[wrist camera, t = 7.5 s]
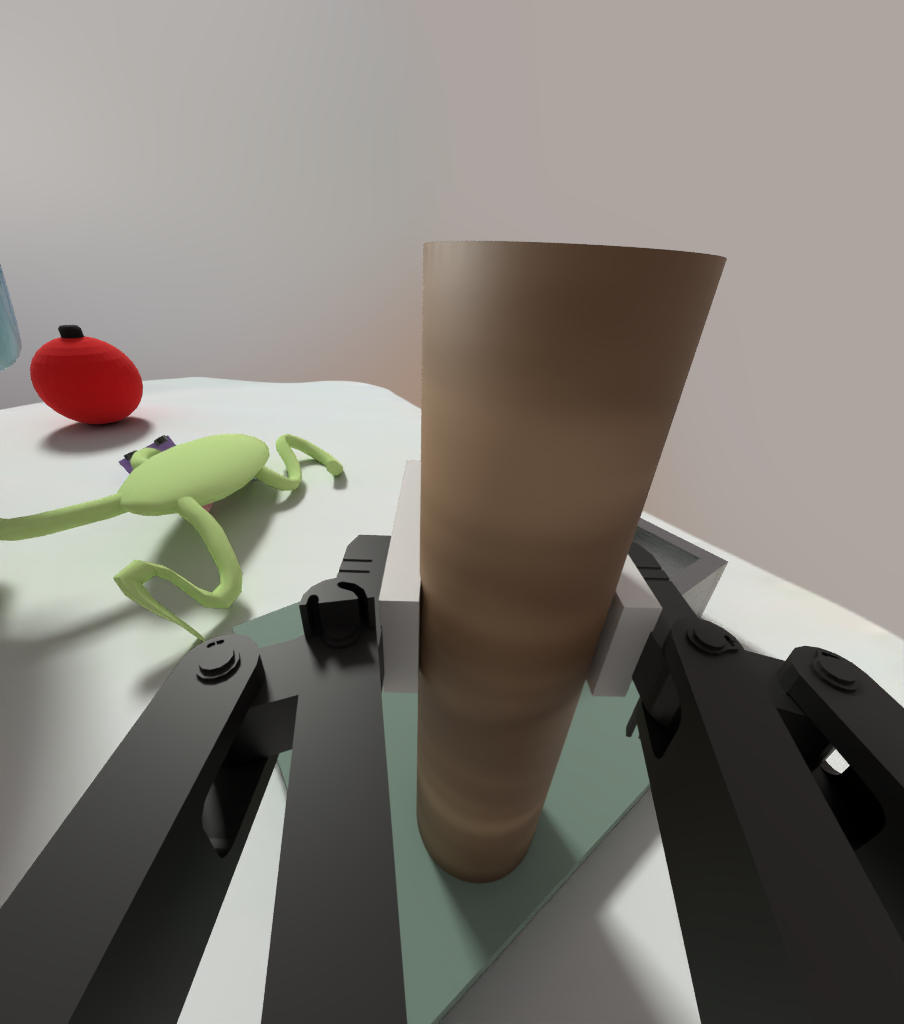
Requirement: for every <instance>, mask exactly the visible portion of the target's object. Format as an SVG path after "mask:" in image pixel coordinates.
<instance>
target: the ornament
mask: <svg viewBox="0 0 904 1024" xmlns="http://www.w3.org/2000/svg"><path fill="white" fill-rule="evenodd" d="M58 330H59V332H60V335H61V337H60V338H57V339H53V340H51V341H50V342H48V343H46V344H44V345H43V346H42V347H41V348H40V349H39V350H38V351H37V352H36V353H35V355H34V357H33V359H32V362H31V366H30V372H31V373H30V374H31V380H32V383H33V386H34V388H35V390H36V392H37V393H38V395H39V397H40V398H41V399H42V400H43V401H44V402H45V403H46V404H47V405H48V406H49V407H51V408H52V409H53V410H54V411H56V412H57V413H59V414H61V415H63V416H65V417H67V418H69V419H72V420H75V421H78V422H82V423H88V424H108V423H112V422H116V421H119V420H122V419H123V418H125V417H127V416H129V415H130V414H131V413H132V412H133V411H134V410H135V409H136V408H137V406H138V405H139V403H140V401H141V398H142V393H143V384H142V380H141V376H140V374H139V372H138V370H137V368H136V367H135V365H134V364H133V362H132V361H131V360H130V359H129V358H128V357H127V356H126V355H125V354H124V353H122V352H121V351H120V350H118V349H117V348H116V347H114V346H112V345H110V344H108V343H106V342H103V341H101V340H98V339H95V338H90V337H85V336H84V335H83V333H82V330H81V328H80V327H78V326H76V325H63V326H59V328H58Z"/></svg>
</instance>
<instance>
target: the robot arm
mask: <svg viewBox="0 0 904 1024" xmlns="http://www.w3.org/2000/svg"><path fill="white" fill-rule="evenodd" d="M20 351H21V339H20V334H19V329H18V325H17V321H16V317H15V314H14V310H13V306H12V303H11V299H10V296H9V292H8V289H7V285H6V282H5V279H4V275H3V272H2V268H1V265H0V371H2V370H4V369H5V368H7V367H9V366H11V365H13V364H14V363H15V362H16V359H17V358H18V357H19V355H20ZM420 493H421V461H413V460H407V461H406V466H405V471H404V476H403V481H402V486H401V491H400V496H399V501H398V506H397V511H396V516H395V521H394V526H393V531H392V536H379V535H359V536H358V537H356V538H355V539H354V540H353V541H352V542H351V543H350V544H349V545H348V546H347V549H346V552H345V555H344V558H343V561H342V563H341V566H340V569H339V572H338V575H337V578H334V579H329V580H325V581H322V582H320V583H318V584H316V585H314V586H312V587H311V588H310V589H309V590H308V591H307V592H306V593H305V594H304V595H303V597H302V599H301V601H300V604H299V609H300V614H301V619H302V625H303V630H304V635H302V636H300V637H298V638H296V639H293V640H290V641H286V642H283V643H278V644H274V645H270V646H265V647H261V648H258V645H257V643H256V642H255V641H254V640H252V639H251V638H250V637H249V636H244V635H240V634H228V635H220V636H217V637H215V638H212V639H209V640H206V641H204V642H203V643H201V644H199V645H198V646H196V647H194V648H193V649H191V650H190V651H189V652H188V653H187V655H186V656H185V657H184V658H183V659H182V660H181V661H180V662H179V663H178V665H177V666H176V668H175V669H174V670H173V672H172V673H171V674H170V676H169V677H168V679H167V680H166V681H165V683H164V684H163V685H162V687H161V688H160V690H159V691H158V692H157V694H156V695H155V696H154V698H153V699H152V701H151V702H150V703H149V705H148V706H147V708H146V709H145V710H144V712H143V713H142V714H141V716H140V717H139V719H138V720H137V721H136V723H135V724H134V725H133V727H132V728H131V730H130V731H129V732H128V734H127V735H126V736H125V738H124V739H123V741H122V742H121V743H120V745H119V746H118V747H117V749H116V750H115V752H114V753H113V754H112V756H111V757H110V759H109V760H108V761H107V763H106V764H105V765H104V767H103V768H102V770H101V771H100V772H99V774H98V775H97V776H96V778H95V779H94V781H93V782H92V783H91V785H90V786H89V787H88V789H87V790H86V792H85V793H84V794H83V796H82V797H81V798H80V800H79V801H78V803H77V804H76V805H75V807H74V808H73V810H72V811H71V812H70V814H69V815H68V816H67V818H66V819H65V821H64V822H63V823H62V825H61V826H60V827H59V829H58V830H57V832H56V833H55V834H54V836H53V837H52V838H51V840H50V841H49V843H48V844H47V845H46V847H45V848H44V850H43V851H42V852H41V854H40V855H39V856H38V858H37V859H36V861H35V862H34V863H33V865H32V866H31V867H30V869H29V870H28V872H27V873H26V874H25V876H24V877H23V878H22V880H21V881H20V883H19V884H18V885H17V887H16V888H15V889H14V891H13V892H12V894H11V895H10V896H9V898H8V899H7V901H6V902H5V903H4V905H3V906H2V907H1V909H0V1024H177V1021H178V1019H179V1016H180V1013H181V1011H182V1008H183V1005H184V1003H185V1000H186V998H187V995H188V992H189V990H190V987H191V985H192V982H193V979H194V977H195V974H196V971H197V969H198V966H199V964H200V961H201V958H202V956H203V953H204V950H205V948H206V945H207V943H208V940H209V937H210V935H211V932H212V929H213V927H214V924H215V922H216V919H217V916H218V914H219V911H220V908H221V906H222V903H223V901H224V898H225V895H226V893H227V890H228V887H229V885H230V882H231V880H232V877H233V874H234V872H235V869H236V866H237V864H238V861H239V859H240V856H241V853H242V851H243V848H244V845H245V843H246V840H247V838H248V835H249V832H250V830H251V827H252V824H253V822H254V819H255V817H256V814H257V811H258V809H259V806H260V803H261V801H262V798H263V796H264V793H265V790H266V788H267V785H268V782H269V780H270V777H271V775H272V772H273V769H274V767H275V764H276V761H277V759H278V756H279V754H280V753H282V752H285V751H288V750H291V749H292V756H291V765H290V774H289V783H288V791H287V800H286V809H285V818H284V827H283V835H282V844H281V853H280V862H279V871H278V879H277V888H276V897H275V906H274V915H273V923H272V932H271V941H270V950H269V959H268V967H267V976H266V985H265V994H264V1003H263V1011H262V1020H261V1024H407V1013H406V1000H405V987H404V975H403V962H402V949H401V937H400V924H399V911H398V898H397V886H396V873H395V860H394V847H393V835H392V822H391V809H390V797H389V784H388V771H387V758H386V746H385V733H384V720H383V708H382V695H381V694H382V687H383V691H384V692H397V693H418V681H419V656H420V590H421V577H420V571H419V570H420ZM661 568H662V567H661V566H660V564H659V563H658V562H657V560H656V559H655V558H654V556H653V555H652V554H651V553H650V552H648V551H647V550H646V549H644V548H643V547H642V546H640V545H639V544H637V543H631V546H630V549H629V552H628V555H627V558H626V561H625V564H624V567H623V570H622V573H621V576H620V579H619V582H618V585H617V588H616V591H615V594H614V597H613V600H612V603H611V606H610V609H609V612H608V615H607V618H606V621H605V624H604V627H603V630H602V633H601V636H600V639H599V642H598V645H597V648H596V651H595V653H594V656H593V659H592V662H591V665H590V668H589V671H588V674H587V677H586V680H587V682H588V685H589V688H590V691H591V694H592V696H610V697H625V696H626V693H627V691H628V689H629V686H630V684H631V682H632V680H633V682H634V684H635V687H636V689H637V691H638V693H639V695H640V697H639V699H638V702H637V704H636V706H635V708H634V710H633V713H632V715H631V717H630V719H629V722H628V724H627V726H626V736H627V737H631V736H632V734H633V732H634V730H635V728H636V726H638V731H639V736H638V739H640V740H641V745H642V750H643V754H644V759H645V764H646V768H647V773H648V778H649V782H650V787H651V792H652V796H653V801H654V806H655V810H656V815H657V820H658V824H659V829H660V834H661V838H662V843H663V847H664V852H665V857H666V861H667V866H668V871H669V875H670V880H671V885H672V889H673V894H674V899H675V903H676V908H677V913H678V917H679V922H680V927H681V931H682V936H683V941H684V945H685V950H686V955H687V959H688V964H689V969H690V973H691V978H692V983H693V987H694V992H695V997H696V1001H697V1006H698V1011H699V1015H700V1020H701V1024H904V708H903V707H902V706H901V705H900V704H899V703H898V702H897V701H896V700H894V699H893V698H892V697H891V696H890V695H889V694H888V693H887V692H886V691H885V690H884V689H883V688H881V687H880V686H879V685H878V684H877V683H876V682H875V681H874V680H873V679H872V678H871V677H869V676H868V675H867V674H866V673H865V672H864V671H862V670H861V669H860V668H858V667H857V666H856V665H854V664H853V663H852V662H850V661H848V660H846V659H844V658H843V657H841V656H839V655H837V654H835V653H832V652H830V651H827V650H824V649H821V648H817V647H810V646H802V647H797V648H795V649H794V650H793V651H792V653H791V654H790V655H789V657H788V658H787V660H786V661H783V660H779V659H776V658H772V657H768V656H764V655H760V654H756V653H753V652H749V651H746V650H744V648H743V647H742V646H741V644H740V643H739V642H738V641H737V639H736V638H735V637H734V636H732V635H731V634H730V633H729V632H727V631H726V630H725V629H723V628H721V627H719V626H717V625H715V624H713V623H712V622H709V621H706V620H702V619H699V618H698V617H697V615H696V614H695V613H694V611H693V610H692V609H691V607H690V606H689V604H688V603H687V602H686V600H685V599H684V598H683V596H682V595H681V593H680V592H679V591H678V589H677V588H676V587H675V585H674V584H673V582H672V581H669V577H668V576H667V574H666V573H665V571H664V570H662V569H661ZM835 749H836V750H837V751H838V752H839V753H840V754H841V756H842V757H843V758H844V759H845V760H846V761H847V763H848V764H849V765H850V766H849V767H848V768H847V769H846V770H845V771H844V772H843V773H839V772H838V771H836V770H834V769H833V768H832V767H831V766H830V765H829V764H828V763H827V762H826V759H827V758H828V757H829V756H830V754H831V753H832V752H833V751H834V750H835Z"/></svg>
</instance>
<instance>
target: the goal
mask: <svg viewBox="0 0 904 1024" xmlns="http://www.w3.org/2000/svg"><path fill="white" fill-rule="evenodd" d="M632 543H637V544H639V545H640V546H642V547H643V548H644V549H646V550H647V551H648V552H650V553H651V554H652V555H653V556H654V558H655V559H656V560H657V562H658V563H659V564H660V566H661V567H662V568H661V569H662V570H664V571H665V573H666V574H667V576H668V577H669V581H672V582H673V584H674V585H675V587H676V588H677V589H678V591H679V592H680V593H681V595H682V596H683V598H684V599H685V600H686V602H687V603H688V604H689V606H690V607H691V609H692V610H693V611H694V613H695V614H696V615H697V617H698V618H700V617H701V616H702V614H703V612H704V610H705V608H706V606H707V604H708V602H709V600H710V598H711V596H712V594H713V592H714V590H715V588H716V586H717V584H718V582H719V580H720V577H721V575H722V573H723V571H724V569H725V567H726V565H727V563H728V561H726V560H724V559H722V558H720V557H718V556H716V555H714V554H712V553H710V552H708V551H706V550H704V549H702V548H700V547H698V546H696V545H694V544H692V543H690V542H688V541H686V540H684V539H682V538H680V537H678V536H676V535H673V534H671V533H669V532H667V531H665V530H663V529H661V528H659V527H657V526H655V525H653V524H651V523H649V522H647V521H645V520H643V519H641V518H640V519H639V522H638V525H637V528H636V531H635V534H634V537H633V540H632Z"/></svg>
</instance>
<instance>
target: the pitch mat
mask: <svg viewBox="0 0 904 1024" xmlns="http://www.w3.org/2000/svg"><path fill="white" fill-rule="evenodd" d="M299 604H300V602H298V603H295V604H292V605H290V606H287V607H284V608H282V609H279V610H277V611H274V612H271V613H269V614H266V615H263V616H261V617H258V618H255V619H253V620H250V621H247V622H245V623H242V624H239V625H237V626H234V627H232V629H233V632H234V634H240V635H244V636H249V637H250V638H251V639H252V640H254V641H255V642H256V643H257V645H258V648H261V647H265V646H270V645H274V644H278V643H283V642H286V641H290V640H293V639H296V638H298V637H300V636H302V635H304V630H303V625H302V619H301V614H300V609H299ZM381 695H382V708H383V720H384V733H385V746H386V758H387V771H388V784H389V797H390V809H391V822H392V835H393V847H394V860H395V873H396V886H397V898H398V911H399V924H400V937H401V949H402V962H403V975H404V987H405V1000H406V1013H407V1024H438V1023H439V1022H440V1021H441V1019H442V1018H443V1017H444V1016H445V1015H446V1014H447V1013H448V1012H449V1011H450V1009H451V1008H452V1007H453V1006H454V1005H455V1004H456V1003H457V1002H458V1001H459V999H460V998H461V997H462V996H463V995H464V994H465V993H466V992H467V991H468V989H469V988H470V987H471V986H472V985H473V984H474V983H475V982H476V981H477V979H478V978H479V977H480V976H481V975H482V974H483V973H484V972H485V971H486V969H487V968H488V967H489V966H490V965H491V964H492V963H493V962H494V961H495V959H496V958H497V957H498V956H499V955H500V954H501V953H502V952H503V951H504V949H505V948H506V947H507V946H508V945H509V944H510V943H511V942H512V941H513V939H514V938H515V937H516V936H517V935H518V934H519V933H520V932H521V931H522V929H523V928H524V927H525V926H526V925H527V924H528V923H529V922H530V921H531V919H532V918H533V917H534V916H535V915H536V914H537V913H538V912H539V911H540V909H541V908H542V907H543V906H544V905H545V904H546V903H547V902H548V901H549V899H550V898H551V897H552V896H553V895H554V894H555V893H556V892H557V891H558V889H559V888H560V887H561V886H562V885H563V884H564V883H565V882H566V880H567V879H568V878H569V877H570V876H571V875H572V874H573V873H574V872H575V870H576V869H577V868H578V867H579V866H580V865H581V864H582V863H583V862H584V860H585V859H586V858H587V857H588V856H589V855H590V854H591V853H592V852H593V850H594V849H595V848H596V847H597V846H598V845H599V844H600V843H601V842H602V840H603V839H604V838H605V837H606V836H607V835H608V834H609V833H610V832H611V830H612V829H613V828H614V827H615V826H616V825H617V824H618V823H619V822H620V820H621V819H622V818H623V817H624V816H625V815H626V814H627V813H628V812H629V810H630V809H631V808H632V807H633V806H634V805H635V804H636V803H637V802H638V800H639V799H640V798H641V797H642V796H643V795H644V794H645V793H646V792H647V790H648V789H649V788H650V782H649V778H648V773H647V768H646V764H645V759H644V754H643V750H642V745H641V740H640V739H638V736H639V731H638V726H636V728H635V730H634V732H633V734H632V736H631V737H627V736H626V726H627V724H628V722H629V719H630V717H631V715H632V713H633V710H634V708H635V706H636V704H637V702H638V699H639V697H640V695H639V693H638V691H637V689H636V687H635V684H634V682H633V680H632V682H631V684H630V686H629V689H628V691H627V693H626V696H625V697H610V696H592V694H591V691H590V688H589V685H588V682H587V680H585V683H584V686H583V689H582V692H581V695H580V698H579V701H578V704H577V707H576V710H575V713H574V716H573V719H572V722H571V725H570V728H569V731H568V734H567V737H566V740H565V743H564V746H563V749H562V752H561V755H560V758H559V761H558V764H557V767H556V770H555V773H554V776H553V779H552V782H551V785H550V788H549V791H548V794H547V797H546V800H545V803H544V806H543V809H542V812H541V815H540V818H539V821H538V824H537V827H536V830H535V833H534V836H533V839H532V842H531V845H530V847H529V849H528V852H527V854H526V856H525V857H524V859H523V860H522V862H521V863H520V864H519V865H518V867H517V868H516V869H515V870H513V871H512V872H511V873H510V874H508V875H507V876H505V877H503V878H502V879H499V880H497V881H494V882H489V883H479V884H476V883H469V882H465V881H462V880H459V879H457V878H455V877H453V876H451V875H450V874H448V873H447V872H445V871H444V870H443V869H442V868H441V867H439V866H438V865H437V864H436V862H435V861H434V860H433V859H432V858H431V856H430V855H429V853H428V851H427V850H426V848H425V846H424V844H423V842H422V839H421V836H420V833H419V829H418V824H417V815H416V802H417V725H418V693H397V692H384V691H383V687H382V694H381ZM291 756H292V749H291V750H288V751H285V752H282V753H280V754H279V756H278V759H277V761H278V764H279V767H280V770H281V773H282V776H283V778H284V781H285V784H286V787H287V790H288V783H289V774H290V765H291Z"/></svg>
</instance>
